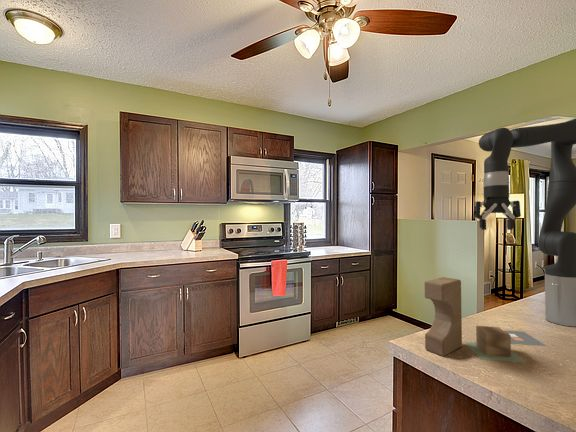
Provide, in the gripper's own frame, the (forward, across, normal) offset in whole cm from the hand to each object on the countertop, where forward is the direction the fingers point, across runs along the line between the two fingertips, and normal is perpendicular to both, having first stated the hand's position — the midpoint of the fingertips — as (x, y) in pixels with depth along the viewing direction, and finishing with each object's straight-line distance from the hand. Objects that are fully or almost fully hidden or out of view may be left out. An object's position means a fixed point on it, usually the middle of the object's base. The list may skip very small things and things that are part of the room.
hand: (496, 229), depth 103 cm
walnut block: (+34, +13, +24) cm, 44 cm away
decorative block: (+34, +26, +24) cm, 49 cm away
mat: (+34, +13, +24) cm, 44 cm away
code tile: (+34, +1, +12) cm, 36 cm away
